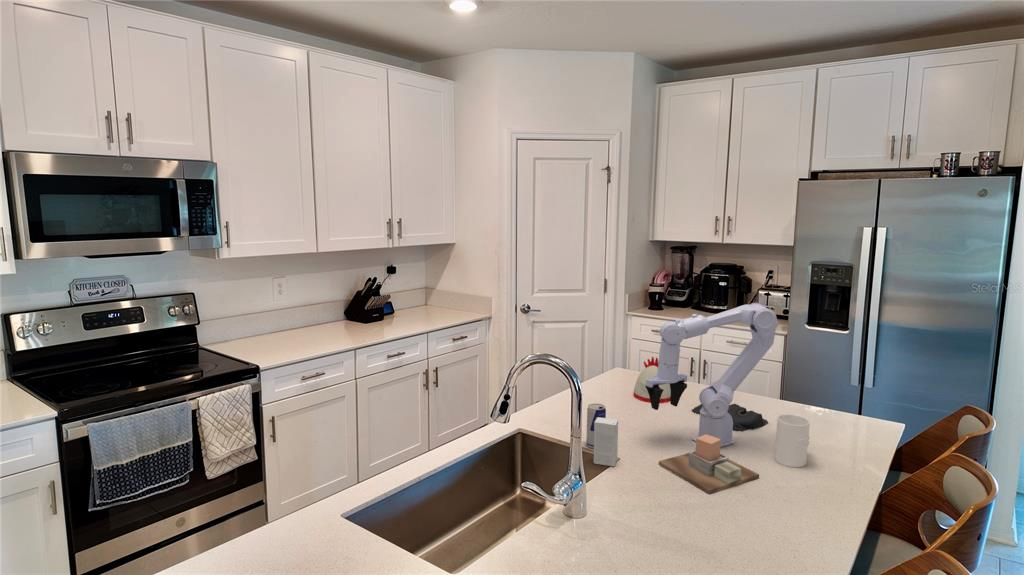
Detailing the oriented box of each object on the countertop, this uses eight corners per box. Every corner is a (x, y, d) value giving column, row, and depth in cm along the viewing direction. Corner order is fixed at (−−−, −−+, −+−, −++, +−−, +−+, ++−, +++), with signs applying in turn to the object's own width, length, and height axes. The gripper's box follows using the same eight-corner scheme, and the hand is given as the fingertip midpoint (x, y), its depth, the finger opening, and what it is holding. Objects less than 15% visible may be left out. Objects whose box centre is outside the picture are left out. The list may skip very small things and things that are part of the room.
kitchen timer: (665, 406, 204) (667, 364, 202) (627, 398, 211) (629, 358, 209) (677, 395, 215) (679, 355, 213) (641, 388, 223) (643, 350, 221)
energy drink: (604, 450, 168) (605, 410, 166) (585, 448, 169) (586, 409, 167) (605, 442, 173) (606, 404, 171) (587, 441, 174) (588, 402, 172)
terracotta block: (704, 451, 158) (705, 434, 157) (719, 457, 155) (721, 439, 154) (695, 456, 155) (696, 438, 155) (710, 462, 152) (711, 443, 151)
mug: (819, 459, 163) (823, 418, 161) (797, 470, 156) (801, 428, 154) (791, 448, 170) (794, 409, 168) (768, 459, 163) (771, 418, 161)
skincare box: (617, 460, 162) (619, 419, 160) (615, 467, 158) (616, 425, 156) (595, 457, 164) (597, 416, 162) (592, 463, 160) (593, 422, 158)
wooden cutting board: (706, 451, 168) (707, 436, 167) (759, 478, 152) (760, 461, 151) (658, 464, 159) (659, 448, 158) (708, 494, 144) (710, 476, 143)
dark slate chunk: (719, 404, 207) (720, 391, 206) (772, 426, 188) (773, 412, 187) (687, 411, 200) (688, 398, 199) (739, 435, 181) (740, 420, 180)
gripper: (676, 357, 178) (672, 399, 180) (640, 361, 171) (636, 405, 173) (694, 363, 172) (689, 407, 174) (657, 368, 165) (653, 414, 167)
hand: (664, 407), depth 173 cm, fingers open, 7 cm apart
